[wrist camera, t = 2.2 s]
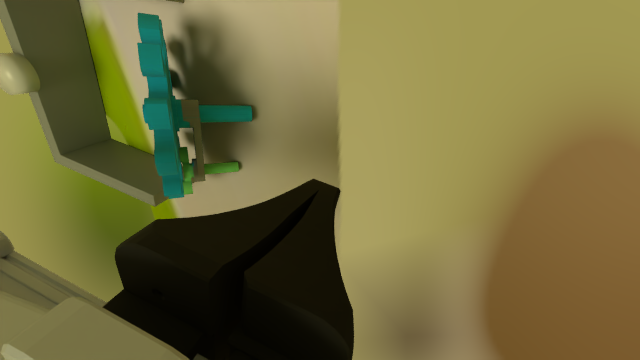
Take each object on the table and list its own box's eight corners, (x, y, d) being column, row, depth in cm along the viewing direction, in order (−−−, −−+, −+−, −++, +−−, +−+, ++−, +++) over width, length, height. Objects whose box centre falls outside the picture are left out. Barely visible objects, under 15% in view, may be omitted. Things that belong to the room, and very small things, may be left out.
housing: (194, 181, 23) (140, 215, 18) (99, 142, 25) (30, 165, 20) (182, -18, 15) (86, -39, 11) (47, -51, 17) (-78, -79, 13)
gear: (129, -12, 15) (105, 56, 9) (238, 6, 17) (282, 69, 11) (162, 147, 22) (162, 248, 16) (235, 144, 25) (261, 229, 18)
